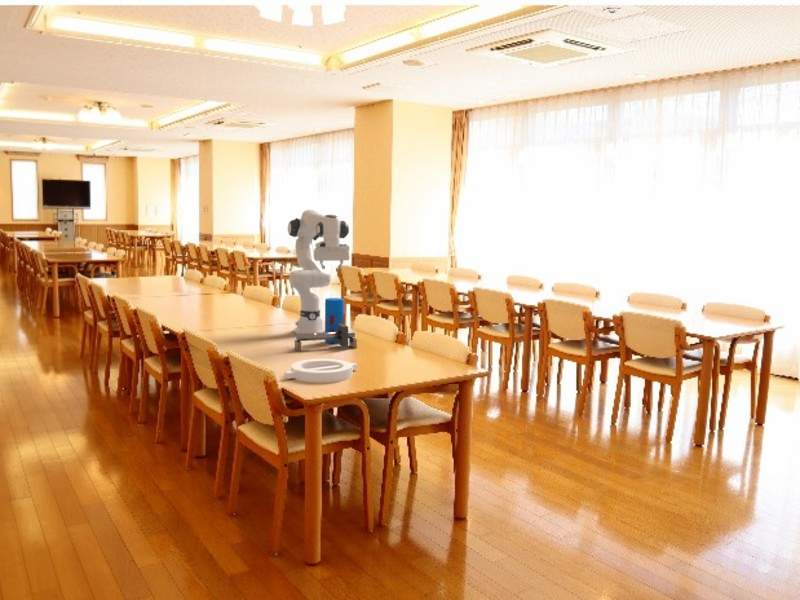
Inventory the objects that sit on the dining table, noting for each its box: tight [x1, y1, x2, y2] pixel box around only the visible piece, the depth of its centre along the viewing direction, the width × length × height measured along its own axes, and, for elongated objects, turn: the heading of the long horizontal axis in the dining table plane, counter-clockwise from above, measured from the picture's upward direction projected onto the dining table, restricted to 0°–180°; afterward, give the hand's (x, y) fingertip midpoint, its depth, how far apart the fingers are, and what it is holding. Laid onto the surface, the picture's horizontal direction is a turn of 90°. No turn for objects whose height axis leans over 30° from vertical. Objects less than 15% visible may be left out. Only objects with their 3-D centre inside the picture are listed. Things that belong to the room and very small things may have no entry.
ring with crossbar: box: [284, 358, 359, 383], centre depth 306 cm, size 28×28×5 cm
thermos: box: [324, 297, 345, 345], centre depth 382 cm, size 11×11×25 cm
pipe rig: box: [294, 330, 358, 352], centre depth 365 cm, size 7×33×9 cm, turn 112°
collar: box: [337, 323, 349, 348], centre depth 368 cm, size 11×3×11 cm, turn 22°
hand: (331, 268), depth 375 cm, fingers open, 8 cm apart
